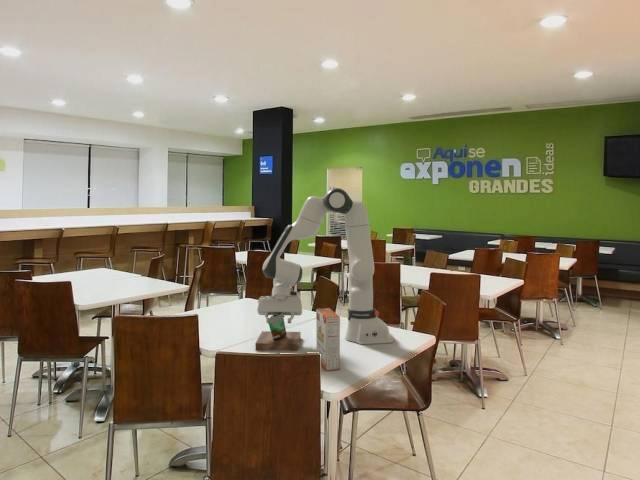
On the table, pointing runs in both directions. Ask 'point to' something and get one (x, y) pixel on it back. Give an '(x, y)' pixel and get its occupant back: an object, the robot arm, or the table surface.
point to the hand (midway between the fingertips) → (278, 322)
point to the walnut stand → (278, 341)
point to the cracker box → (328, 338)
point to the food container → (277, 326)
